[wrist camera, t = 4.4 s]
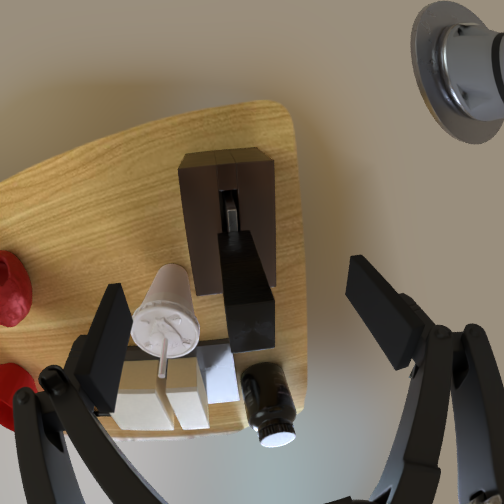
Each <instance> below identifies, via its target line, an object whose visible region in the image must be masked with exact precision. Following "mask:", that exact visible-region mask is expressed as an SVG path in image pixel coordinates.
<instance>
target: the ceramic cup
mask: <svg viewBox="0 0 504 504" xmlns="http://www.w3.org/2000/svg"><path fill="white" fill-rule="evenodd" d="M22 387H30V388H31V389H32V390H33V391H34V392H35V393H38V392H37V389H36V386H35V383H34V380H33V378H32V376H31V375H30V374H29V373H28V372H27V371H26V370H25V369H24V368H22V367H21V366H19V365H17V364H14V363H7V364H0V424H1V425H2V426H4V427H6V428H8V429H10V430H12V431H14V419H13V396H14V394H15V392H16V391H17V390H18V389H20V388H22ZM14 432H15V431H14Z"/></svg>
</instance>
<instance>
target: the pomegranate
mask: <svg viewBox="0 0 504 504" xmlns="http://www.w3.org/2000/svg"><path fill="white" fill-rule="evenodd" d="M31 305H32V286H31V282H30V278H29V276H28V273H27V271H26V269H25V268H24V266H23V264H22V263H21V261H20V260H19V259H18V258H17V257H16V256H15V255H14V254H12V253H11V252H8V251H6V250H0V325H3V326H6V327H13V326H16V325H17V324H18V323H19V322H20V321H22V320H23V319H24V318H25V317H26V315H27V314H28V313H29V311H30V308H31Z"/></svg>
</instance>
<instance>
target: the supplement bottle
mask: <svg viewBox="0 0 504 504" xmlns="http://www.w3.org/2000/svg"><path fill="white" fill-rule="evenodd" d="M241 387H242V393H243V398H244V404H245V409H246V414H247V419H248V423H249V425H250V427H252V428H253V429H254V430H256V431H257V433H258V437H259V441H260V443H261V445H262V446H265V447H277V446H281V445H285V444H287V443H289V442H291V441H292V440H293V439H294V438H295V436H296V435H295V431H294V426H293V421H294V420H295V418H296V409H295V406H294V402H293V399H292V396H291V393H290V390H289V387H288V384H287V381H286V378H285V375H284V372H283V370H282V368H281V367H280V366H278V365H276V364H274V363H268V362H265V363H258V364H255V365H252V366H250V367H249V368H247V369H246V370H245V371H244V372H243V374H242V376H241Z"/></svg>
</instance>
